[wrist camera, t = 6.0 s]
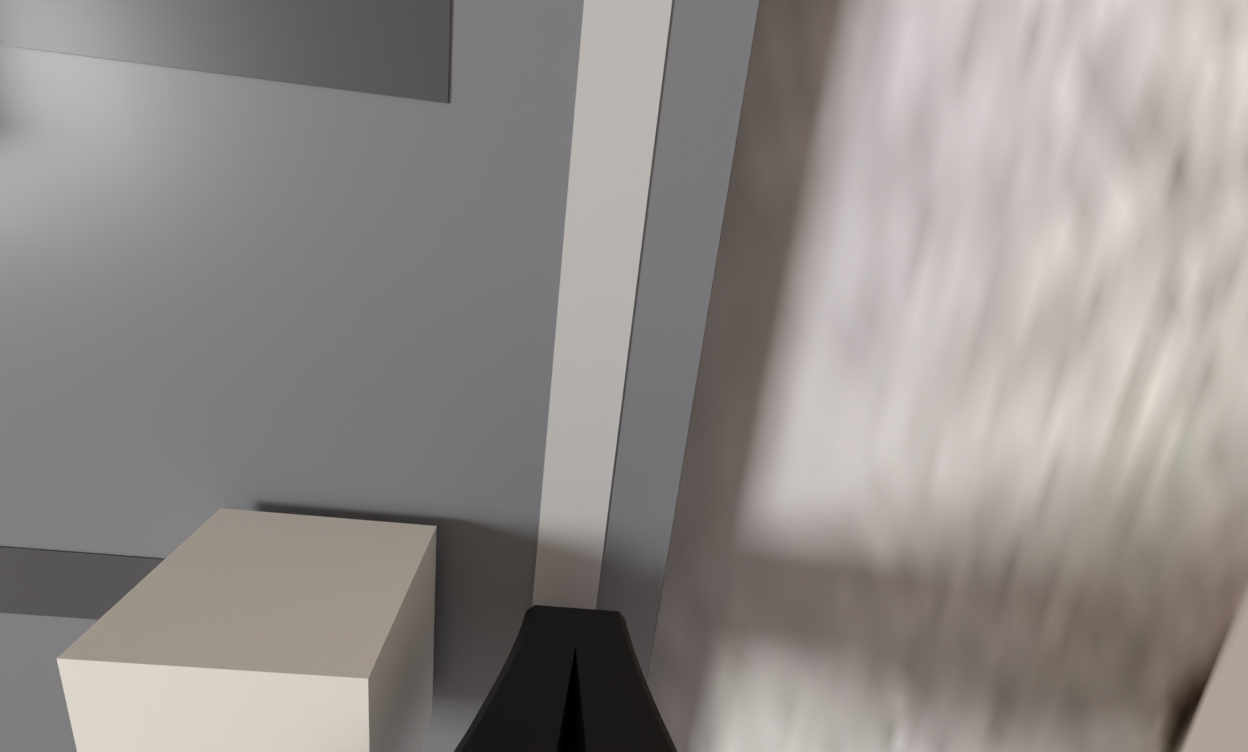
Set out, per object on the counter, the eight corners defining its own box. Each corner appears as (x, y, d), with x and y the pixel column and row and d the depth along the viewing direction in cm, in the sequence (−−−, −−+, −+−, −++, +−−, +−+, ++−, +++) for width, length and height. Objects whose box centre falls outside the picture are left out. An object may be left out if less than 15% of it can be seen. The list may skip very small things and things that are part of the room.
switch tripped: (436, 526, 9) (368, 679, 6) (432, 712, 10) (372, 908, 8) (220, 508, 9) (57, 658, 6) (240, 700, 10) (108, 896, 7)
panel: (773, -231, 8) (812, -320, 6) (586, 973, 15) (584, 1058, 14) (-929, -523, 6) (-1372, -721, 5) (-214, 946, 14) (-308, 1037, 13)
